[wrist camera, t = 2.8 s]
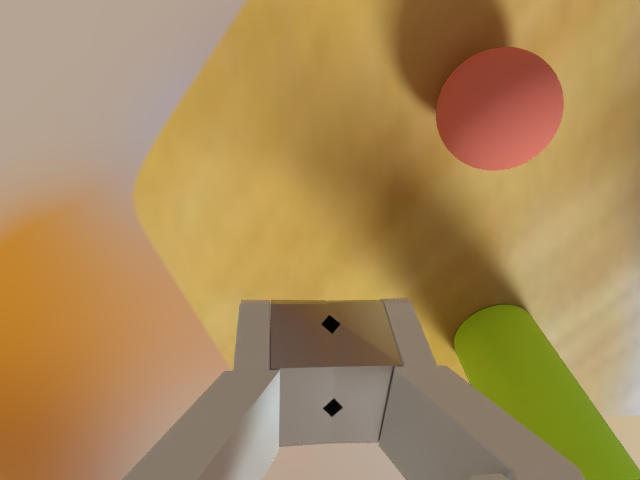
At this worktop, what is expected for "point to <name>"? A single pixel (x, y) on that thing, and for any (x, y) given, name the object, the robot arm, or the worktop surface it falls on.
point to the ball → (499, 108)
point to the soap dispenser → (539, 390)
